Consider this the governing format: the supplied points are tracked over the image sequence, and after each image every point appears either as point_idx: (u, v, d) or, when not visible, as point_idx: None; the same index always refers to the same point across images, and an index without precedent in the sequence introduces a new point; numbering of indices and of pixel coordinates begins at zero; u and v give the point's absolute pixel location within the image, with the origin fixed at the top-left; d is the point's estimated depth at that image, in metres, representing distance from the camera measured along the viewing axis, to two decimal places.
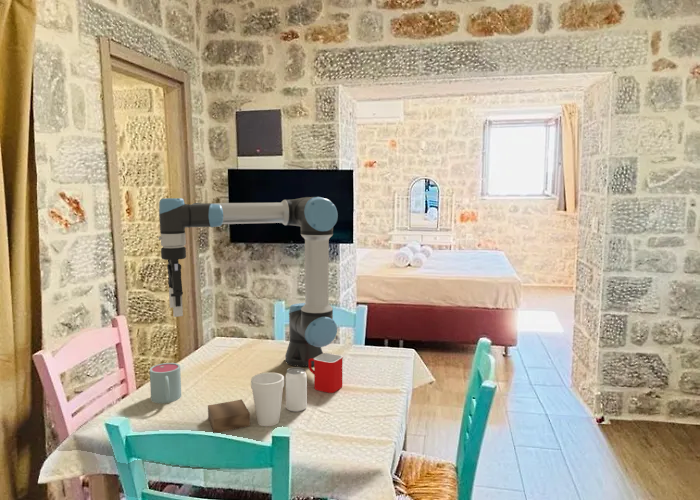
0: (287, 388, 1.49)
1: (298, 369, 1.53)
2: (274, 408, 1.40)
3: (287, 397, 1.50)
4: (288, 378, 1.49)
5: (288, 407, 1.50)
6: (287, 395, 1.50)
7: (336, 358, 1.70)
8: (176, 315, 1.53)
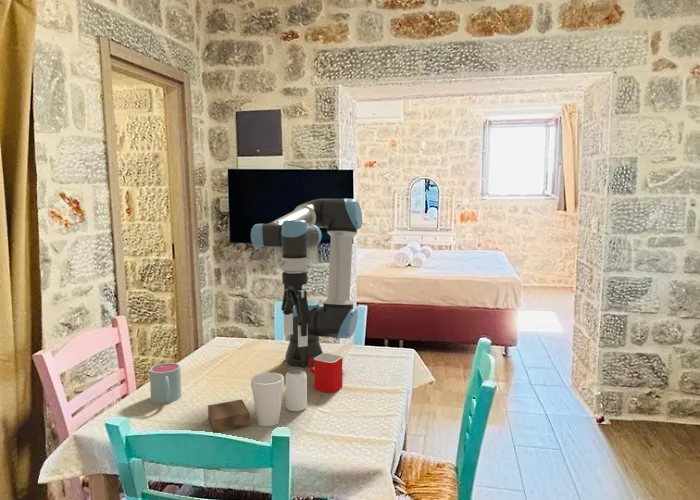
0: (287, 388, 1.49)
1: (298, 369, 1.53)
2: (274, 408, 1.40)
3: (287, 397, 1.50)
4: (288, 378, 1.49)
5: (288, 407, 1.50)
6: (287, 395, 1.50)
7: (336, 358, 1.70)
8: (301, 345, 1.43)
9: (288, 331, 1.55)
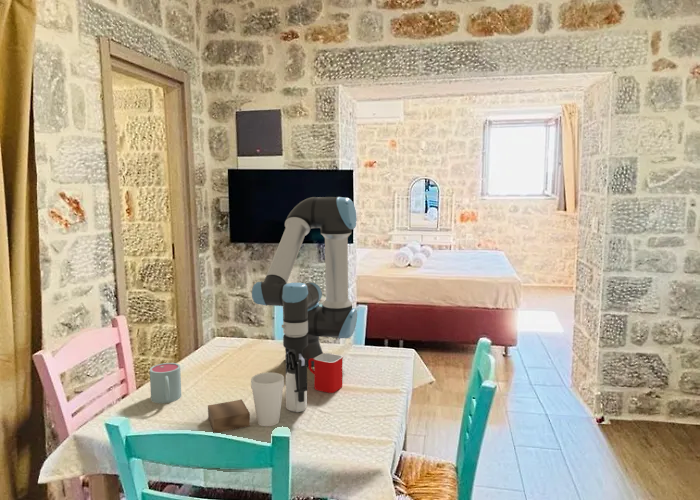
0: (287, 388, 1.49)
1: None
2: (274, 408, 1.40)
3: (287, 397, 1.50)
4: (288, 378, 1.49)
5: (288, 407, 1.50)
6: (287, 395, 1.50)
7: (336, 358, 1.70)
8: (298, 410, 1.48)
9: None
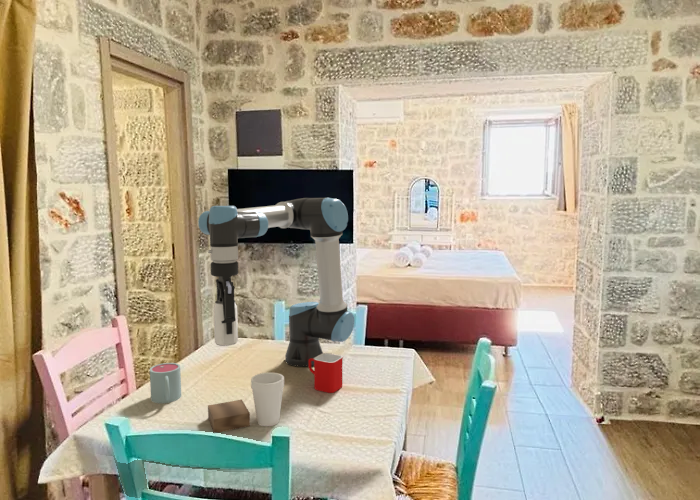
0: (215, 320, 1.37)
1: None
2: (274, 408, 1.40)
3: (215, 330, 1.37)
4: (216, 309, 1.36)
5: (216, 341, 1.37)
6: (214, 327, 1.37)
7: (336, 358, 1.70)
8: (227, 344, 1.36)
9: None
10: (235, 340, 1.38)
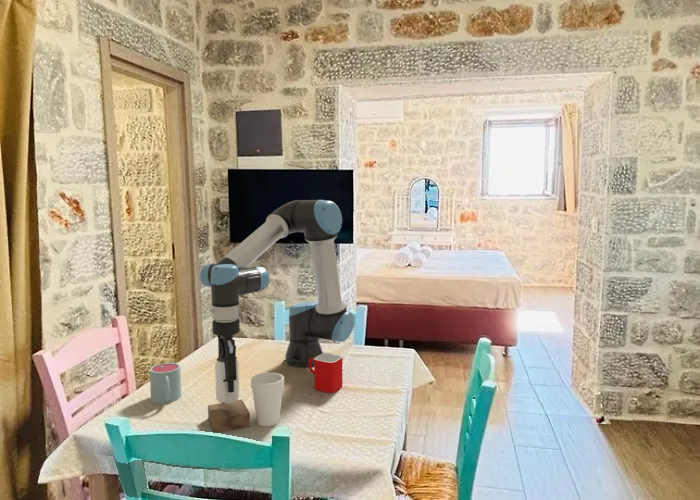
0: (216, 377, 1.39)
1: None
2: (274, 408, 1.40)
3: (216, 387, 1.39)
4: (217, 367, 1.38)
5: (218, 398, 1.39)
6: (216, 385, 1.39)
7: (336, 358, 1.70)
8: (228, 401, 1.38)
9: None
10: (236, 397, 1.40)
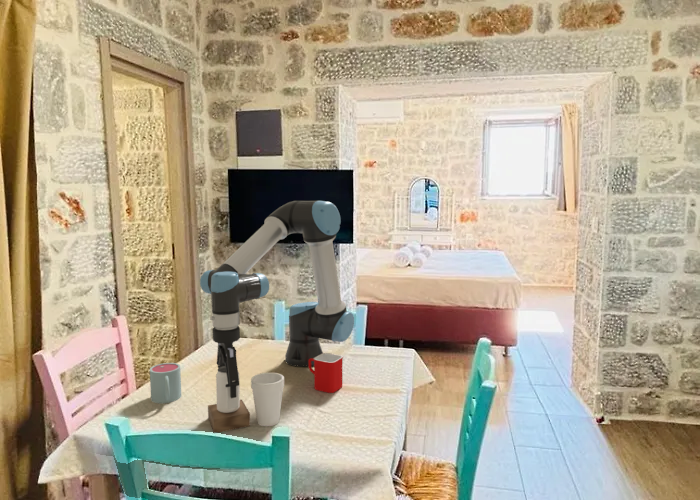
0: (217, 388, 1.39)
1: None
2: (274, 408, 1.40)
3: (217, 397, 1.40)
4: (218, 377, 1.38)
5: (218, 408, 1.40)
6: (217, 395, 1.40)
7: (336, 358, 1.70)
8: (231, 407, 1.35)
9: None
10: (237, 407, 1.41)
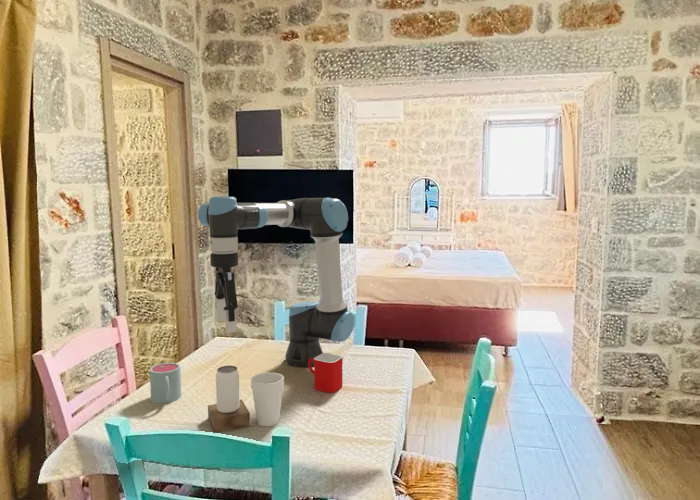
0: (217, 388, 1.39)
1: (230, 367, 1.43)
2: (274, 408, 1.40)
3: (217, 397, 1.40)
4: (218, 377, 1.38)
5: (218, 408, 1.40)
6: (217, 395, 1.40)
7: (336, 358, 1.70)
8: (229, 331, 1.33)
9: (221, 317, 1.45)
10: (237, 407, 1.41)
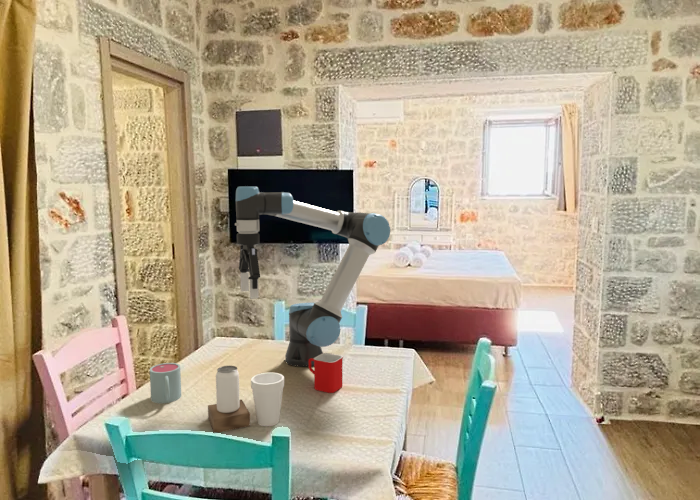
0: (217, 388, 1.39)
1: (230, 367, 1.43)
2: (274, 408, 1.40)
3: (217, 397, 1.40)
4: (218, 377, 1.38)
5: (218, 408, 1.40)
6: (217, 395, 1.40)
7: (336, 358, 1.70)
8: (253, 297, 1.61)
9: (244, 288, 1.73)
10: (237, 407, 1.41)
